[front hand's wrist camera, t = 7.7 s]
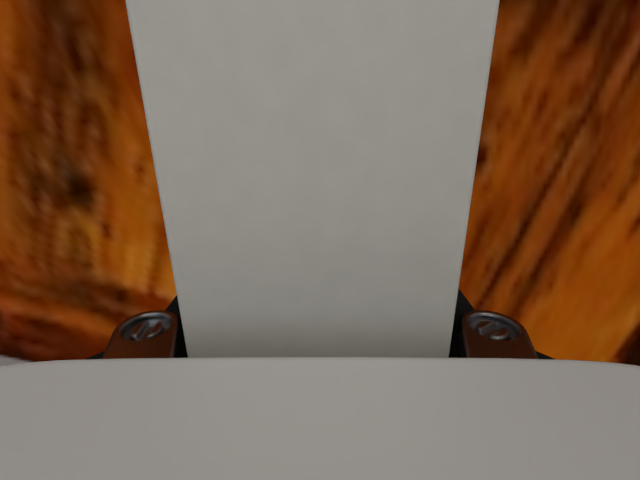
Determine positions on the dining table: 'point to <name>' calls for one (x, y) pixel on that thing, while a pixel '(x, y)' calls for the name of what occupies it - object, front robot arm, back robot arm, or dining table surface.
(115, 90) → the dining table surface
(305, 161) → the beam
